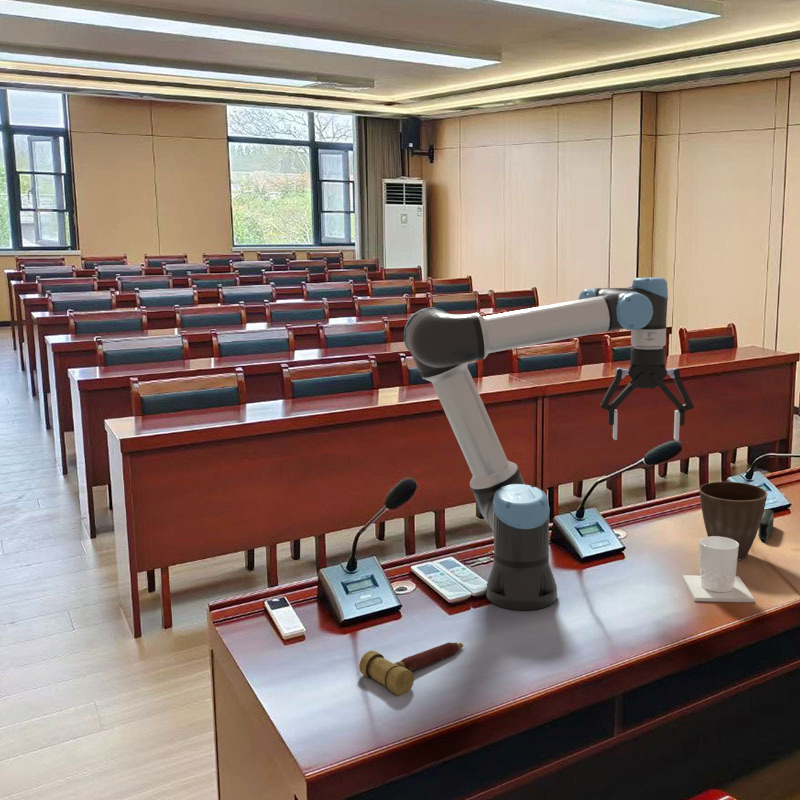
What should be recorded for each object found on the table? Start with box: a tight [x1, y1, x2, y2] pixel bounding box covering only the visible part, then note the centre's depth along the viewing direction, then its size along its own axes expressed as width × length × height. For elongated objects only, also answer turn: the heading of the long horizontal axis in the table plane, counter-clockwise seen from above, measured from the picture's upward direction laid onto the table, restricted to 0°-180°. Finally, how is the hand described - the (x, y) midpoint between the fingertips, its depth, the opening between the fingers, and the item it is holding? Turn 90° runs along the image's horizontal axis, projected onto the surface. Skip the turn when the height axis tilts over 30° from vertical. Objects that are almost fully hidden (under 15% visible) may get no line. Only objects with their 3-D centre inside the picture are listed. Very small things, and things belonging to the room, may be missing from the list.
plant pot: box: [699, 481, 768, 560], centre depth 202 cm, size 15×15×16 cm
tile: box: [682, 574, 755, 603], centre depth 184 cm, size 12×12×1 cm
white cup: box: [699, 536, 739, 592], centre depth 183 cm, size 8×8×10 cm
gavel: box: [358, 642, 464, 696], centre depth 155 cm, size 21×5×10 cm
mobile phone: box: [757, 508, 775, 544], centre depth 216 cm, size 5×3×15 cm
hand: (645, 439), depth 195 cm, fingers open, 13 cm apart
